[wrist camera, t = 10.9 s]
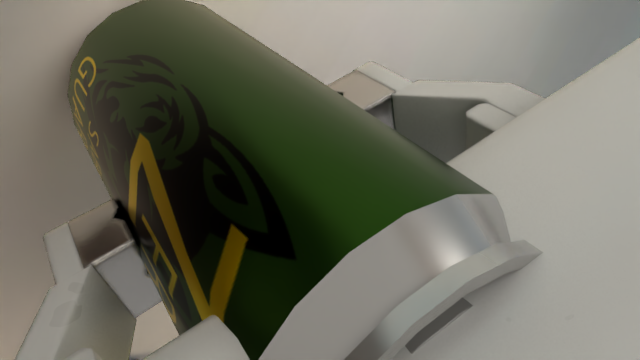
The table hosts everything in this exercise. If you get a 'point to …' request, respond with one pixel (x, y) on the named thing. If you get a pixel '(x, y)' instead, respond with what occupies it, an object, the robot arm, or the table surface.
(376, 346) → the beer can
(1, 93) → the table surface
